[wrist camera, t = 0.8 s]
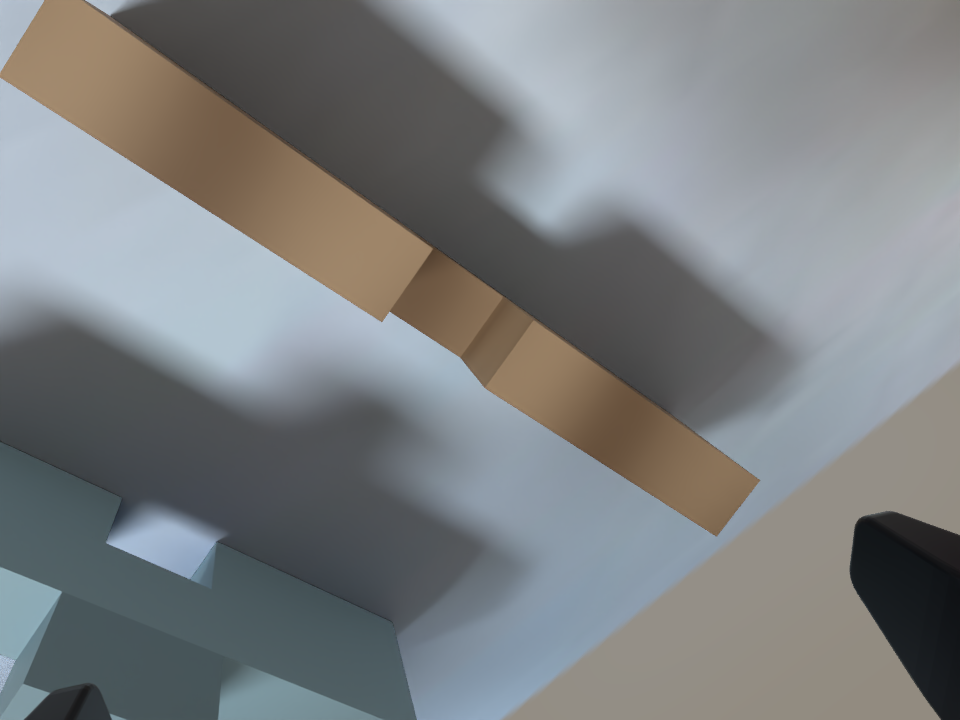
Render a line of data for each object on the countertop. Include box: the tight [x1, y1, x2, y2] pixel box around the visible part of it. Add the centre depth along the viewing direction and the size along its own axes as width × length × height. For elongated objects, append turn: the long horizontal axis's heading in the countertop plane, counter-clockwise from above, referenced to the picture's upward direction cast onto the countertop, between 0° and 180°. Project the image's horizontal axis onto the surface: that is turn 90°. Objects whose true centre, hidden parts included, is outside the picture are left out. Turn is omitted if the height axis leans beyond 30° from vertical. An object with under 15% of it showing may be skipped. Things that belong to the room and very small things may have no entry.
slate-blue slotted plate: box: [0, 442, 417, 720], centre depth 19 cm, size 16×2×8 cm, turn 53°
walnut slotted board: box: [0, 0, 760, 537], centre depth 20 cm, size 20×2×5 cm, turn 53°
